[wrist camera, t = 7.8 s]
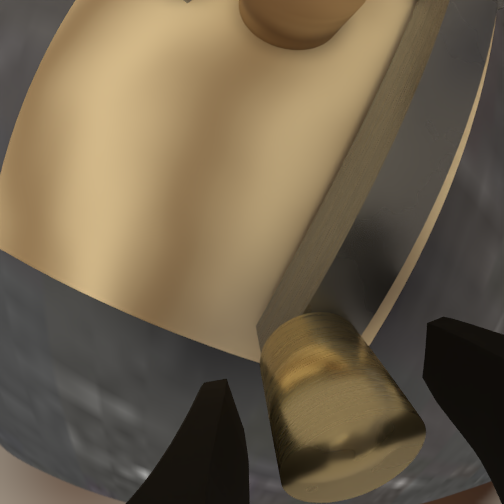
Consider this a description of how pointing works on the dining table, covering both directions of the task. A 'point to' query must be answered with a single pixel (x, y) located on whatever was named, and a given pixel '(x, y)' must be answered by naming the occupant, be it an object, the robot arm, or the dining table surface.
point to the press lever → (368, 266)
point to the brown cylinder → (297, 20)
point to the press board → (190, 158)
